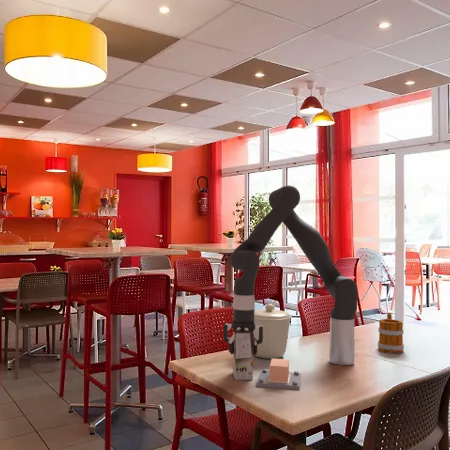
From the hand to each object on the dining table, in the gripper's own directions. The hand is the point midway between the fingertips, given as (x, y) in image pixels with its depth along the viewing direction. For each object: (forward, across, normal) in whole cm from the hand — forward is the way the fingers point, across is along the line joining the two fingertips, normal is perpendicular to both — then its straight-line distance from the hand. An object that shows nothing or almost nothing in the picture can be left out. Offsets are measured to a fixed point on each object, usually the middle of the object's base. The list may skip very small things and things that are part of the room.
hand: (242, 354), depth 170 cm
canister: (+8, -6, -29) cm, 31 cm away
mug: (+8, -57, -54) cm, 79 cm away
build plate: (+7, -13, +3) cm, 15 cm away
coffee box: (+8, 0, 0) cm, 8 cm away
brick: (+6, -13, +3) cm, 15 cm away
